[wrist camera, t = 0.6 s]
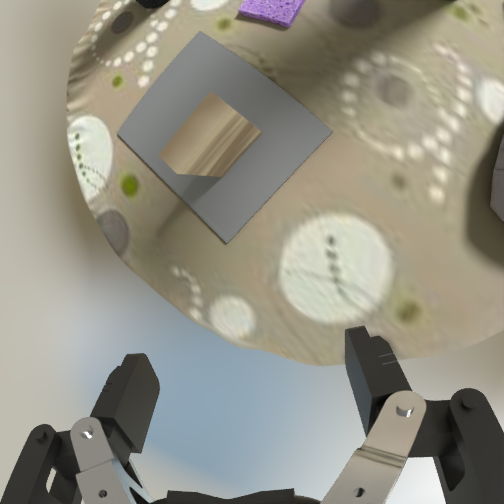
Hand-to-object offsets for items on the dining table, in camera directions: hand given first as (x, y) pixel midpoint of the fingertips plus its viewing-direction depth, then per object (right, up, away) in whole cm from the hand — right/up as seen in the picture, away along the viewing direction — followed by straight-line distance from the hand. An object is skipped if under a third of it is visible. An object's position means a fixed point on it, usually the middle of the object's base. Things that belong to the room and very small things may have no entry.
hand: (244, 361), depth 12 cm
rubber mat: (-4, +19, +24) cm, 31 cm away
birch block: (-2, +16, +24) cm, 29 cm away
